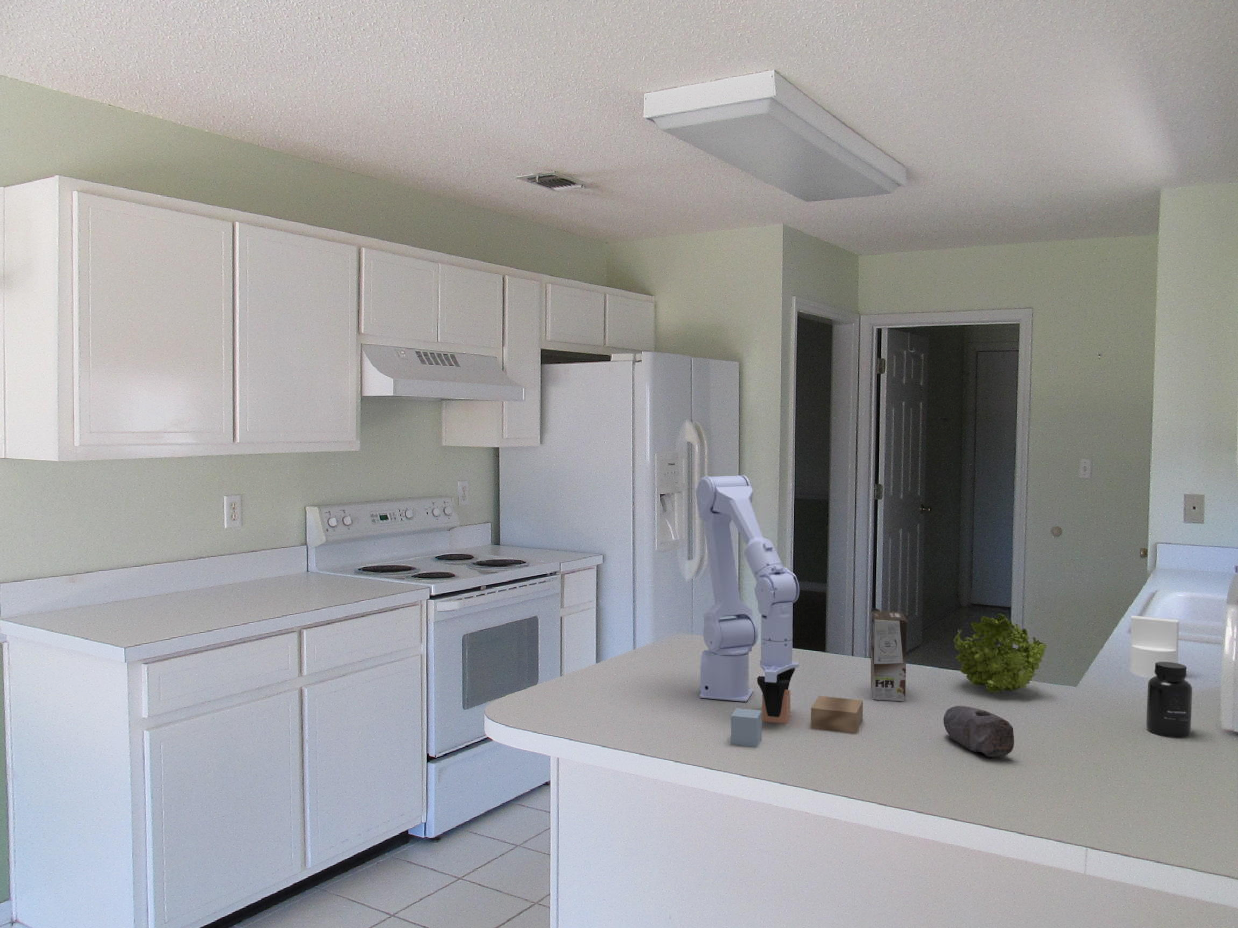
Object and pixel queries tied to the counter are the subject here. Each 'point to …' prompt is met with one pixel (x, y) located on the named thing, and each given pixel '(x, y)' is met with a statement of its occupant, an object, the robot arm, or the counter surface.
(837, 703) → the walnut block
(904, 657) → the coffee box
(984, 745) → the perforated stone tool
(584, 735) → the counter surface
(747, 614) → the robot arm
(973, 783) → the counter surface
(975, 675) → the lettuce head
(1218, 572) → the counter surface
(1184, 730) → the supplement bottle
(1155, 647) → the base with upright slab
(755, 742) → the slate-grey block
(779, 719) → the terracotta block
